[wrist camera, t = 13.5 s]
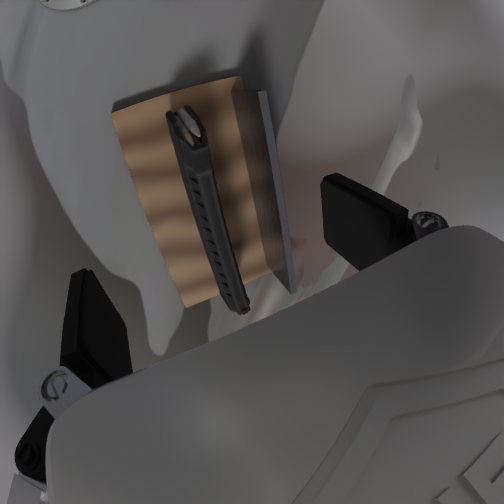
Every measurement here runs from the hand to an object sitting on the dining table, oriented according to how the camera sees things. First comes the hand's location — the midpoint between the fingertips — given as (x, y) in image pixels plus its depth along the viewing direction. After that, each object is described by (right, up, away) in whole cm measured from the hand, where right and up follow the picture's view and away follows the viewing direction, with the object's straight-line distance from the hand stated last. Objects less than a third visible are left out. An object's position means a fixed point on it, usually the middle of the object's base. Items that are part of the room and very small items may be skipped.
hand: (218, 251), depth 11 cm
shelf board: (-6, +8, +33) cm, 35 cm away
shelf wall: (+2, +10, +34) cm, 35 cm away
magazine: (-6, +6, +32) cm, 33 cm away
